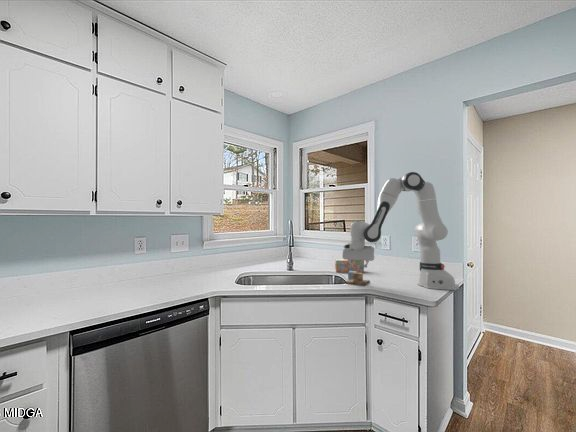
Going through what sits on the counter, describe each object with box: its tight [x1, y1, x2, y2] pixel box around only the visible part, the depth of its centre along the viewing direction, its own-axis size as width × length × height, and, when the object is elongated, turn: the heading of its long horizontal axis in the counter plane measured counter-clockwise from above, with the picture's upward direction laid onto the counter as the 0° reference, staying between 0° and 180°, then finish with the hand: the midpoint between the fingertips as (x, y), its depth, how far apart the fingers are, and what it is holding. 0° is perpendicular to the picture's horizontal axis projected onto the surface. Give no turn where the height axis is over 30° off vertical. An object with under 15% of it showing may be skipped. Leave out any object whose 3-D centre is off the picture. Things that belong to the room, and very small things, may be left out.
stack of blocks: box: [334, 258, 365, 273], centre depth 232 cm, size 21×6×12 cm, turn 88°
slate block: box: [347, 271, 358, 280], centre depth 204 cm, size 5×5×5 cm
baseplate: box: [345, 279, 370, 287], centre depth 191 cm, size 12×11×1 cm
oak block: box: [353, 272, 364, 282], centre depth 191 cm, size 5×5×5 cm
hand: (358, 267), depth 191 cm, fingers open, 8 cm apart
